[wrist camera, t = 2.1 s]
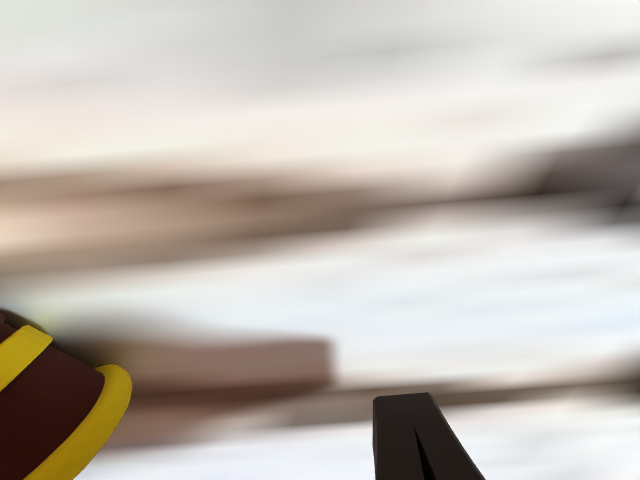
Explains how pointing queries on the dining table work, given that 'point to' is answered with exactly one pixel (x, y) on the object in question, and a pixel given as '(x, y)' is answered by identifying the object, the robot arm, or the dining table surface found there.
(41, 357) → the opera glasses
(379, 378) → the dining table surface
